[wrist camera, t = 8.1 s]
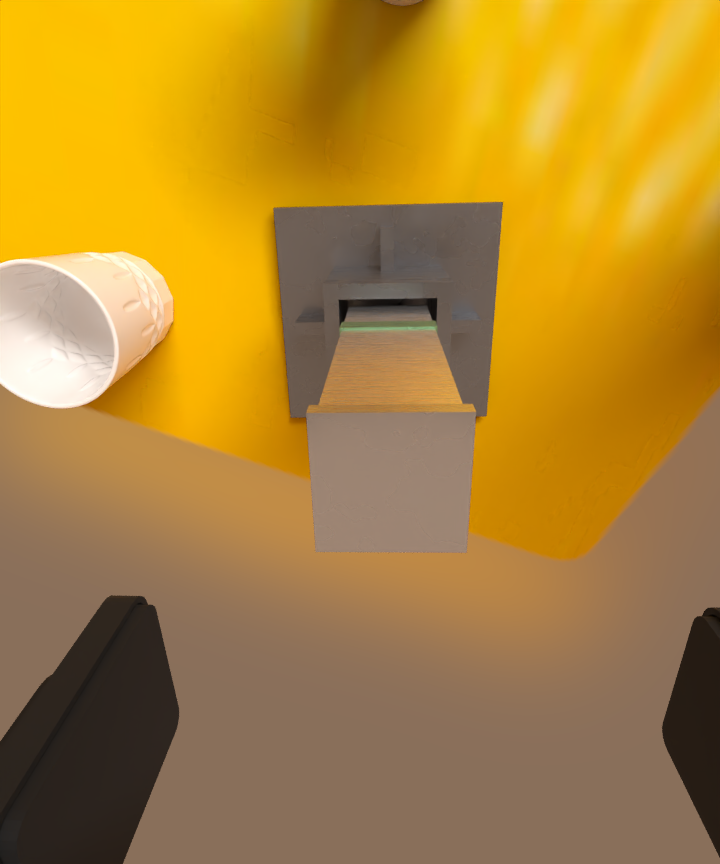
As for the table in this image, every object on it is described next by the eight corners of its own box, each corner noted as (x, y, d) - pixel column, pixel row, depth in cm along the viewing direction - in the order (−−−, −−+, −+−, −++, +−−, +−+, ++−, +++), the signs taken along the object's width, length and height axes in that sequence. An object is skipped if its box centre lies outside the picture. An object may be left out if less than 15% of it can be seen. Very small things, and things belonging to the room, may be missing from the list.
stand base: (499, 201, 34) (531, 204, 26) (483, 410, 39) (506, 461, 32) (276, 207, 34) (247, 211, 27) (292, 412, 40) (272, 461, 33)
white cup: (132, 218, 35) (43, 227, 26) (206, 322, 38) (149, 365, 28) (45, 281, 37) (-67, 311, 28) (121, 376, 39) (41, 432, 30)
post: (430, 300, 29) (476, 411, 15) (427, 381, 31) (466, 552, 16) (345, 302, 29) (306, 413, 15) (348, 382, 31) (315, 551, 17)
